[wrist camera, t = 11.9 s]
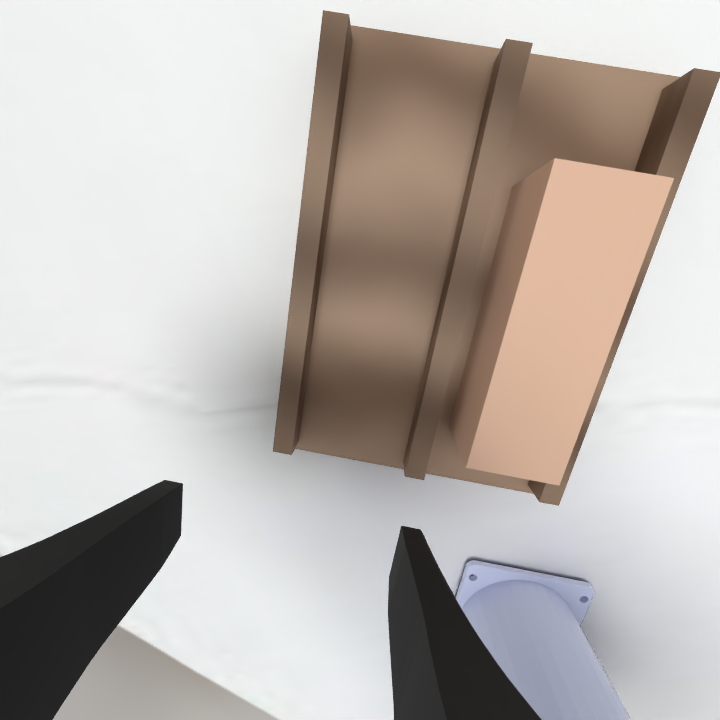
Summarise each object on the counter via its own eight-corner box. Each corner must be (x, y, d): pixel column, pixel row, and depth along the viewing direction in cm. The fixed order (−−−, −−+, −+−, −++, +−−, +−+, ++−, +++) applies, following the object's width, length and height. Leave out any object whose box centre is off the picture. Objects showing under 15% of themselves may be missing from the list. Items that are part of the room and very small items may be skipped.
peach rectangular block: (522, 440, 18) (559, 485, 15) (448, 426, 18) (466, 467, 15) (601, 201, 15) (674, 177, 11) (512, 186, 15) (554, 158, 12)
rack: (533, 482, 20) (555, 513, 18) (286, 436, 21) (271, 459, 18) (668, 93, 15) (727, 56, 12) (335, 41, 15) (324, -6, 13)
